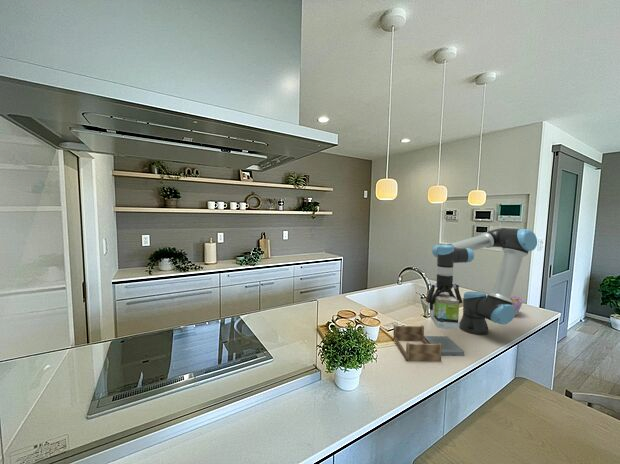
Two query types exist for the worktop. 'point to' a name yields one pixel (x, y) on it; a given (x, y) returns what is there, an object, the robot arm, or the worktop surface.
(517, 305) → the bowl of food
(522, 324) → the worktop surface
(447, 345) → the slate board
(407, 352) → the walnut caddy
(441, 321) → the tea box
